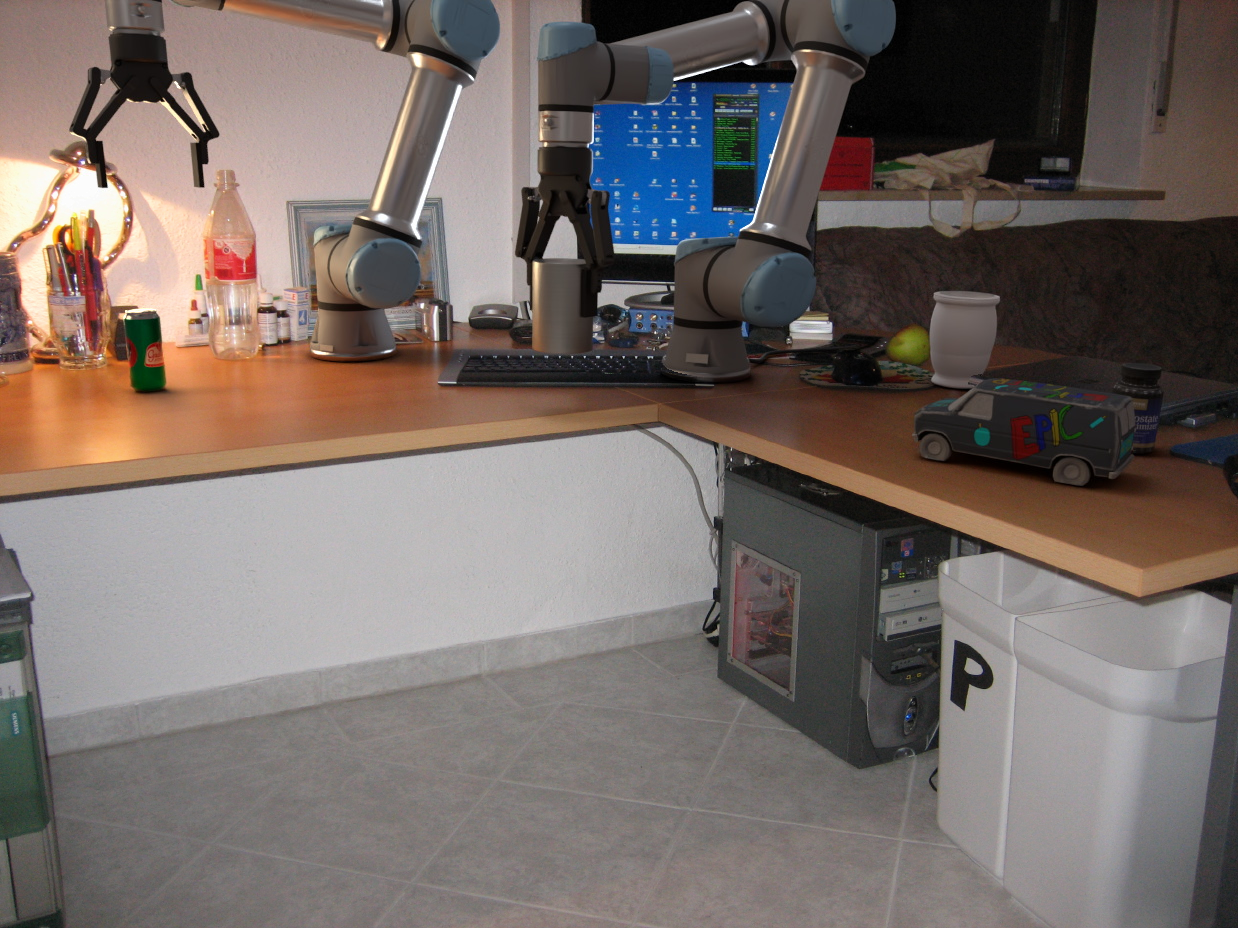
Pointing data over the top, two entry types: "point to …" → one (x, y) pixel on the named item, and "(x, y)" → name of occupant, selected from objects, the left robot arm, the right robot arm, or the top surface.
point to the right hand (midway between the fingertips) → (563, 313)
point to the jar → (962, 336)
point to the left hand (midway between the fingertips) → (152, 188)
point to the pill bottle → (1142, 401)
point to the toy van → (1033, 428)
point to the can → (559, 307)
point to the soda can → (145, 349)
